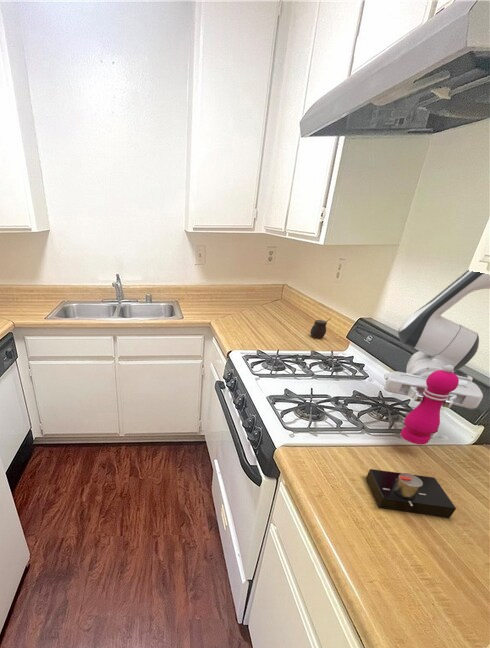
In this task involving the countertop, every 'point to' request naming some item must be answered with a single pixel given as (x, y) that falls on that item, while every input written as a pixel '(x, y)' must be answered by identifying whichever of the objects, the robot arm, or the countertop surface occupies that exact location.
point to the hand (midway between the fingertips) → (433, 401)
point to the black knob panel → (425, 502)
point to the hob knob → (407, 485)
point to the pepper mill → (429, 406)
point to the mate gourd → (319, 329)
